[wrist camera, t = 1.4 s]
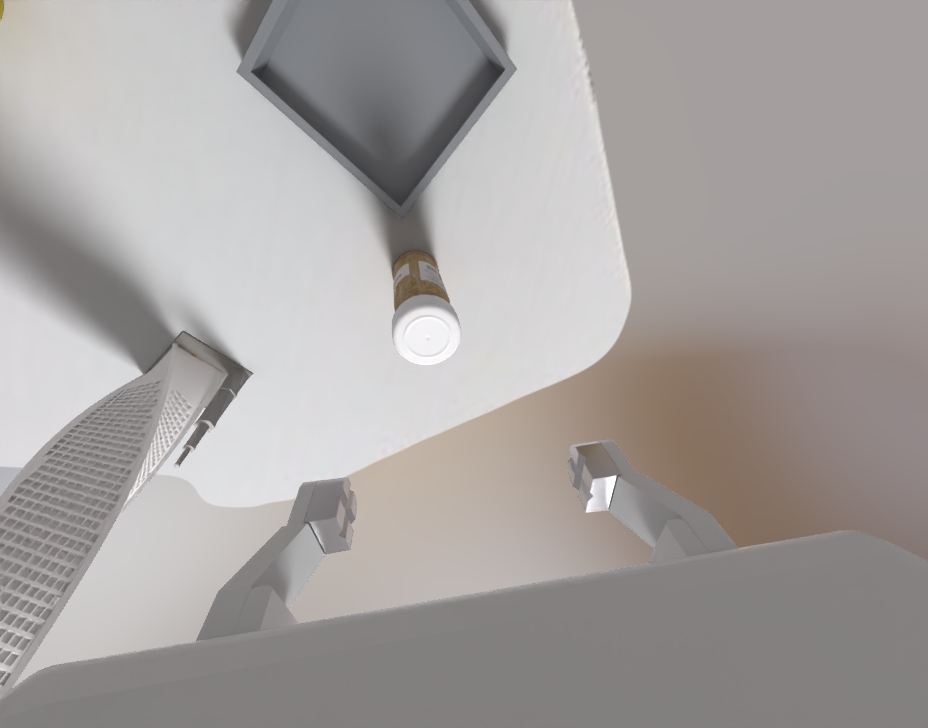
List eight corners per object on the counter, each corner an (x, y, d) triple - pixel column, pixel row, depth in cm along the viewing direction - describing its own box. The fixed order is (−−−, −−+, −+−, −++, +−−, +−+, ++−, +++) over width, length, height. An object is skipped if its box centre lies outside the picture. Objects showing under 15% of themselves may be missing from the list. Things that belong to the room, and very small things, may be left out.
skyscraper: (207, 417, 38) (-89, 843, 15) (126, 375, 34) (-467, 876, 11) (253, 372, 36) (-4, 781, 13) (173, 322, 32) (-428, 792, 9)
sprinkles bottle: (384, 260, 32) (379, 321, 21) (429, 242, 32) (448, 293, 21) (404, 302, 34) (409, 376, 23) (446, 286, 34) (471, 353, 23)
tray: (250, 78, 24) (236, 71, 22) (359, -130, 20) (355, -163, 18) (401, 213, 30) (402, 218, 28) (507, 75, 26) (517, 68, 24)
